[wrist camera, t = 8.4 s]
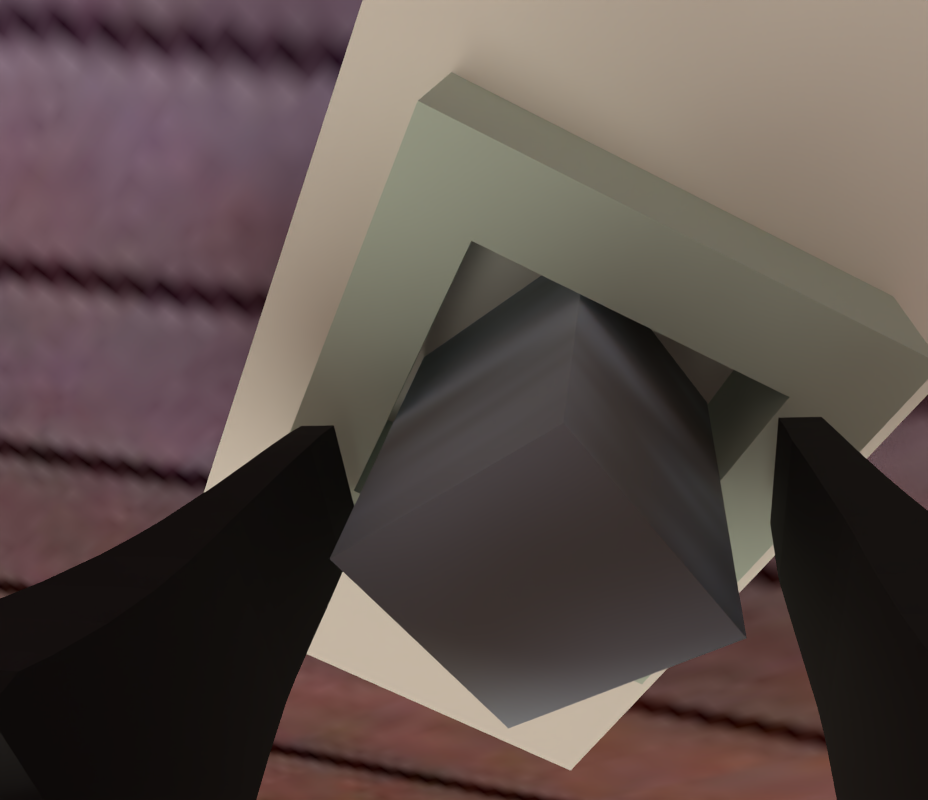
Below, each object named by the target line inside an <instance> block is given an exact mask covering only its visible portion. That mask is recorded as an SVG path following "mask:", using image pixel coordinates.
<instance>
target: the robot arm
mask: <svg viewBox="0 0 928 800" xmlns="http://www.w3.org/2000/svg"><path fill="white" fill-rule="evenodd" d="M353 508H354V503H353V499H352V495H351V491H350V487H349V483H348V479H347V475H346V471H345V467H344V463H343V459H342V455H341V451H340V447H339V444H338V440H337V436H336V432H335V428H334V425H327V426H300V427H299V428H297V429H295V430H293V431H292V432H290V433H288V434H287V435H285V436H284V437H282V438H281V439H279V440H278V441H277V442H275V443H274V444H272V445H271V446H269V447H268V448H267V449H265V450H264V451H262V452H261V453H260V454H258V455H257V456H255V457H254V458H253V459H251V460H250V461H249V462H247V463H246V464H244V465H243V466H242V467H240V468H239V469H237V470H236V471H235V472H233V473H232V474H230V475H229V476H228V477H226V478H225V479H223V480H222V481H220V482H219V483H218V484H216V485H215V486H213V487H212V488H210V489H209V490H207V491H206V492H204V493H203V494H201V495H200V496H198V497H197V498H195V499H194V500H192V501H191V502H189V503H188V504H186V505H185V506H183V507H182V508H180V509H179V510H177V511H176V512H174V513H172V514H171V515H169V516H168V517H166V518H165V519H163V520H162V521H160V522H158V523H157V524H155V525H153V526H152V527H150V528H148V529H146V530H145V531H143V532H141V533H140V534H138V535H136V536H134V537H132V538H130V539H129V540H127V541H125V542H123V543H121V544H119V545H118V546H116V547H114V548H112V549H110V550H108V551H106V552H104V553H102V554H101V555H99V556H96V557H94V558H92V559H90V560H88V561H86V562H84V563H81V564H79V565H77V566H75V567H73V568H71V569H69V570H66V571H64V572H62V573H60V574H58V575H56V576H53V577H51V578H49V579H47V580H45V581H43V582H40V583H38V584H36V585H33V586H31V587H28V588H26V589H23V590H21V591H18V592H16V593H13V594H11V595H8V596H6V597H3V598H0V800H256V798H257V795H258V792H259V788H260V785H261V781H262V778H263V774H264V771H265V768H266V764H267V761H268V757H269V754H270V751H271V748H272V745H273V741H274V738H275V735H276V732H277V729H278V726H279V723H280V720H281V717H282V713H283V710H284V707H285V704H286V701H287V699H288V696H289V694H290V691H291V689H292V686H293V683H294V681H295V678H296V676H297V674H298V671H299V669H300V667H301V665H302V663H303V660H304V658H305V656H306V654H307V651H308V649H309V647H310V645H311V642H312V640H313V638H314V636H315V634H316V631H317V629H318V627H319V625H320V622H321V620H322V618H323V616H324V613H325V611H326V609H327V607H328V604H329V602H330V600H331V598H332V595H333V593H334V591H335V588H336V586H337V584H338V582H339V579H340V577H341V574H342V572H343V571H342V570H341V569H340V568H339V567H338V566H337V565H335V564H334V563H333V562H332V561H331V560H330V557H331V555H332V553H333V550H334V548H335V546H336V544H337V542H338V540H339V538H340V535H341V533H342V531H343V529H344V527H345V525H346V523H347V521H348V518H349V516H350V514H351V512H352V510H353ZM770 526H771V532H772V539H773V546H774V552H775V558H776V564H777V570H778V576H779V581H780V584H781V588H782V591H783V595H784V598H785V602H786V605H787V608H788V612H789V615H790V618H791V622H792V625H793V628H794V632H795V635H796V638H797V641H798V645H799V648H800V651H801V654H802V658H803V661H804V664H805V668H806V671H807V674H808V677H809V681H810V684H811V687H812V691H813V694H814V697H815V700H816V704H817V707H818V711H819V715H820V719H821V723H822V727H823V731H824V735H825V739H826V745H827V750H828V755H829V760H830V766H831V771H832V776H833V781H834V787H835V792H836V797H837V800H928V511H927V510H926V509H925V508H924V507H922V506H921V505H920V504H919V503H917V502H916V501H915V500H914V499H912V498H911V497H910V496H909V495H907V494H906V493H905V492H904V491H903V490H901V489H900V488H899V487H898V486H897V485H896V484H894V483H893V482H892V481H891V480H890V479H889V478H887V477H886V476H885V475H884V474H883V473H882V472H880V471H879V470H878V469H877V468H876V467H875V466H874V465H873V464H872V463H871V462H869V461H868V460H867V459H866V458H865V457H864V456H863V455H862V454H861V453H860V452H859V451H858V450H857V449H855V448H854V447H853V446H852V445H851V444H850V443H849V442H848V441H847V440H846V439H845V438H844V437H843V436H842V435H841V434H840V433H838V432H837V431H836V430H835V429H834V428H833V427H832V426H831V425H830V424H829V423H828V422H827V421H826V420H825V419H823V418H822V417H784V418H778V430H777V443H776V455H775V468H774V481H773V493H772V506H771V518H770Z"/></svg>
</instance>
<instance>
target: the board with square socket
mask: <svg viewBox="0 0 928 800" xmlns="http://www.w3.org/2000/svg"><path fill="white" fill-rule="evenodd" d="M541 275H542V276H544V277H546V278H548V279H550V280H552V281H554V282H556V283H558V284H560V285H563V286H565V287H567V288H569V289H571V290H573V291H575V292H577V293H579V294H581V295H583V296H585V297H587V298H589V299H591V300H593V301H595V302H597V303H599V304H601V305H603V306H605V307H607V308H609V309H611V310H613V311H615V312H617V313H619V314H622V315H624V316H626V317H628V318H630V319H632V320H634V321H636V322H638V323H640V324H642V325H644V326H646V327H648V328H650V329H651V330H652V331H653V332H654V334H655V335H656V336H657V338H658V339H659V340H660V342H661V343H662V344H663V346H664V347H665V348H666V350H667V351H668V352H669V353H670V355H671V356H672V357H673V359H674V360H675V361H676V363H677V364H678V365H679V367H680V368H681V369H682V370H683V372H684V373H685V374H686V376H687V377H688V378H689V380H690V381H691V382H692V384H693V385H694V386H695V387H696V389H697V390H698V391H699V393H700V394H701V395H702V397H703V398H704V399H705V401H706V402H707V405H708V411H709V417H710V423H711V429H712V435H713V441H714V447H715V453H716V459H717V465H718V471H719V477H720V483H721V489H722V495H723V501H724V507H725V513H726V519H727V525H728V531H729V537H730V543H731V549H732V555H733V561H734V567H735V573H736V579H737V585H738V591H739V592H740V591H741V590H742V589H743V588H744V587H745V586H746V585H747V584H748V583H749V582H750V581H751V580H752V579H753V578H754V577H755V576H756V575H757V574H758V572H759V571H760V570H761V569H762V568H763V567H764V566H765V565H766V564H767V563H768V562H769V561H770V560H771V559H772V558H773V557H774V556H775V552H774V546H773V539H772V532H771V526H770V518H771V506H772V493H773V481H774V468H775V455H776V443H777V430H778V418H784V417H822V418H823V419H825V420H826V421H827V422H828V423H829V424H830V425H831V426H832V427H833V428H834V429H835V430H836V431H837V432H838V433H840V434H841V435H842V436H843V437H844V438H845V439H846V440H847V441H848V442H849V443H850V444H851V445H852V446H853V447H854V448H855V449H857V450H858V451H859V452H860V453H861V454H862V455H863V456H864V457H865V458H866V459H867V458H868V457H869V456H870V455H871V454H872V453H873V451H874V450H875V449H876V448H877V447H878V446H879V445H880V444H881V443H882V442H883V441H884V440H885V439H886V438H887V437H888V436H889V435H890V434H891V433H892V431H893V430H894V429H895V428H896V427H897V426H898V425H899V424H900V423H901V422H902V421H903V420H904V419H905V418H906V417H907V416H908V415H909V414H910V413H911V411H912V410H913V409H914V408H915V407H916V406H917V405H918V404H919V403H920V402H921V401H922V400H923V399H924V398H925V397H926V396H927V395H928V0H363V1H362V4H361V7H360V10H359V13H358V16H357V19H356V23H355V26H354V29H353V32H352V35H351V38H350V41H349V44H348V47H347V50H346V54H345V57H344V60H343V63H342V66H341V69H340V72H339V75H338V78H337V81H336V85H335V88H334V91H333V94H332V97H331V100H330V103H329V106H328V109H327V112H326V116H325V119H324V122H323V125H322V128H321V131H320V134H319V137H318V140H317V143H316V147H315V150H314V153H313V156H312V159H311V162H310V165H309V168H308V171H307V174H306V178H305V181H304V184H303V187H302V190H301V193H300V196H299V199H298V202H297V205H296V209H295V212H294V215H293V218H292V221H291V224H290V227H289V230H288V233H287V236H286V240H285V243H284V246H283V249H282V252H281V255H280V258H279V261H278V264H277V267H276V271H275V274H274V277H273V280H272V283H271V286H270V289H269V292H268V295H267V298H266V302H265V305H264V308H263V311H262V314H261V317H260V320H259V323H258V326H257V329H256V333H255V336H254V339H253V342H252V345H251V348H250V351H249V354H248V357H247V360H246V364H245V367H244V370H243V373H242V376H241V379H240V382H239V385H238V388H237V391H236V395H235V398H234V401H233V404H232V407H231V410H230V413H229V416H228V419H227V422H226V426H225V429H224V432H223V435H222V438H221V441H220V444H219V447H218V450H217V453H216V457H215V460H214V463H213V466H212V469H211V472H210V475H209V478H208V481H207V484H206V488H205V491H204V492H206V491H207V490H209V489H210V488H212V487H213V486H215V485H216V484H218V483H219V482H220V481H222V480H223V479H225V478H226V477H228V476H229V475H230V474H232V473H233V472H235V471H236V470H237V469H239V468H240V467H242V466H243V465H244V464H246V463H247V462H249V461H250V460H251V459H253V458H254V457H255V456H257V455H258V454H260V453H261V452H262V451H264V450H265V449H267V448H268V447H269V446H271V445H272V444H274V443H275V442H277V441H278V440H279V439H281V438H282V437H284V436H285V435H287V434H288V433H290V432H292V431H293V430H295V429H297V428H299V427H300V426H327V425H334V428H335V432H336V436H337V440H338V444H339V447H340V451H341V455H342V459H343V463H344V467H345V471H346V475H347V479H348V483H349V487H350V491H351V495H352V499H353V503H354V506H355V503H356V501H357V499H358V497H359V495H360V493H361V491H362V488H363V486H364V484H365V482H366V480H367V478H368V476H369V473H370V471H371V469H372V467H373V465H374V463H375V461H376V459H377V456H378V454H379V452H380V450H381V448H382V446H383V444H384V441H385V439H386V437H387V435H388V433H389V431H390V429H391V426H392V424H393V422H394V420H395V418H396V416H397V414H398V412H399V409H400V407H401V405H402V403H403V401H404V399H405V397H406V394H407V392H408V390H409V388H410V386H411V384H412V382H413V379H414V377H415V375H416V373H417V371H418V369H419V367H420V365H421V362H422V360H423V358H424V357H425V356H426V355H428V354H429V353H431V352H432V351H434V350H435V349H437V348H438V347H439V346H441V345H442V344H444V343H445V342H447V341H448V340H449V339H451V338H452V337H454V336H455V335H457V334H458V333H460V332H461V331H462V330H464V329H465V328H467V327H468V326H470V325H471V324H472V323H474V322H475V321H477V320H478V319H480V318H481V317H483V316H484V315H485V314H487V313H488V312H490V311H491V310H493V309H494V308H495V307H497V306H498V305H500V304H501V303H503V302H504V301H506V300H507V299H508V298H510V297H511V296H513V295H514V294H516V293H517V292H518V291H520V290H521V289H523V288H524V287H526V286H527V285H529V284H530V283H531V282H533V281H534V280H536V279H537V278H539V277H540V276H541ZM307 654H308V655H310V656H313V657H315V658H317V659H319V660H322V661H324V662H326V663H329V664H331V665H333V666H335V667H338V668H340V669H342V670H344V671H347V672H349V673H351V674H353V675H356V676H358V677H360V678H362V679H365V680H367V681H369V682H372V683H374V684H376V685H378V686H381V687H383V688H385V689H387V690H390V691H392V692H394V693H396V694H399V695H401V696H403V697H406V698H408V699H410V700H412V701H415V702H417V703H419V704H421V705H424V706H426V707H428V708H430V709H433V710H435V711H437V712H439V713H442V714H444V715H446V716H449V717H451V718H453V719H455V720H458V721H460V722H462V723H464V724H467V725H469V726H471V727H473V728H476V729H478V730H480V731H483V732H485V733H487V734H489V735H492V736H494V737H496V738H498V739H501V740H503V741H505V742H507V743H510V744H512V745H514V746H516V747H519V748H521V749H523V750H526V751H528V752H530V753H532V754H535V755H537V756H539V757H541V758H544V759H546V760H548V761H550V762H553V763H555V764H557V765H559V766H562V767H564V768H566V769H569V770H571V769H572V768H573V767H574V766H575V765H576V764H577V763H578V762H579V761H580V760H581V759H582V758H583V757H584V756H585V755H586V754H587V752H588V751H589V750H590V749H591V748H592V747H593V746H594V745H595V744H596V743H597V742H598V741H599V740H600V739H601V738H602V737H603V736H604V735H605V734H606V732H607V731H608V730H609V729H610V728H611V727H612V726H613V725H614V724H615V723H616V722H617V721H618V720H619V719H620V718H621V717H622V716H623V715H624V714H625V712H626V711H627V710H628V709H629V708H630V707H631V706H632V705H633V704H634V703H635V702H636V701H637V700H638V699H639V698H640V697H641V696H642V695H643V694H644V692H645V691H646V690H647V689H648V688H649V687H650V686H651V685H652V684H653V683H654V682H655V681H656V680H657V679H658V678H659V677H660V676H661V675H662V674H663V672H664V671H665V670H666V669H667V668H666V669H664V670H661V671H659V672H656V673H653V674H651V675H648V676H645V677H643V678H640V679H637V680H635V681H632V682H630V683H627V684H624V685H622V686H619V687H616V688H614V689H611V690H609V691H606V692H603V693H601V694H598V695H595V696H593V697H590V698H587V699H585V700H582V701H580V702H577V703H574V704H572V705H569V706H566V707H564V708H561V709H559V710H556V711H553V712H551V713H548V714H545V715H543V716H540V717H537V718H535V719H532V720H530V721H527V722H524V723H522V724H519V725H516V726H514V727H511V728H509V729H508V728H507V727H506V726H505V725H504V724H503V723H502V722H501V721H500V720H499V719H498V718H497V717H496V716H495V715H494V714H493V713H492V712H491V711H489V710H488V709H487V708H486V707H485V706H484V705H483V704H482V703H481V702H480V701H479V700H478V699H477V698H476V697H475V696H474V695H473V694H472V693H470V692H469V691H468V690H467V689H466V688H465V687H464V686H463V685H462V684H461V683H460V682H459V681H458V680H457V679H456V678H455V677H454V676H453V675H451V674H450V673H449V672H448V671H447V670H446V669H445V668H444V667H443V666H442V665H441V664H440V663H439V662H438V661H437V660H436V659H435V658H434V657H433V656H431V655H430V654H429V653H428V652H427V651H426V650H425V649H424V648H423V647H422V646H421V645H420V644H419V643H418V642H417V641H416V640H415V639H414V638H412V637H411V636H410V635H409V634H408V633H407V632H406V631H405V630H404V629H403V628H402V627H401V626H400V625H399V624H398V623H397V622H396V621H395V620H393V619H392V618H391V617H390V616H389V615H388V614H387V613H386V612H385V611H384V610H383V609H382V608H381V607H380V606H379V605H378V604H377V603H376V602H374V601H373V600H372V599H371V598H370V597H369V596H368V595H367V594H366V593H365V592H364V591H363V590H362V589H361V588H360V587H359V586H358V585H357V584H356V583H354V582H353V581H352V580H351V579H350V578H349V577H348V576H347V575H346V574H345V573H344V572H342V574H341V577H340V579H339V582H338V584H337V586H336V588H335V591H334V593H333V595H332V598H331V600H330V602H329V604H328V607H327V609H326V611H325V613H324V616H323V618H322V620H321V622H320V625H319V627H318V629H317V631H316V634H315V636H314V638H313V640H312V642H311V645H310V647H309V649H308V651H307Z"/></svg>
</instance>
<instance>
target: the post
mask: <svg viewBox="0 0 928 800" xmlns="http://www.w3.org/2000/svg"><path fill="white" fill-rule="evenodd" d="M330 560H331V561H332V562H333V563H334V564H335V565H337V566H338V567H339V568H340V569H341V570H342V571H343V572H344V573H345V574H346V575H347V576H348V577H349V578H350V579H351V580H352V581H353V582H354V583H356V584H357V585H358V586H359V587H360V588H361V589H362V590H363V591H364V592H365V593H366V594H367V595H368V596H369V597H370V598H371V599H372V600H373V601H374V602H376V603H377V604H378V605H379V606H380V607H381V608H382V609H383V610H384V611H385V612H386V613H387V614H388V615H389V616H390V617H391V618H392V619H393V620H395V621H396V622H397V623H398V624H399V625H400V626H401V627H402V628H403V629H404V630H405V631H406V632H407V633H408V634H409V635H410V636H411V637H412V638H414V639H415V640H416V641H417V642H418V643H419V644H420V645H421V646H422V647H423V648H424V649H425V650H426V651H427V652H428V653H429V654H430V655H431V656H433V657H434V658H435V659H436V660H437V661H438V662H439V663H440V664H441V665H442V666H443V667H444V668H445V669H446V670H447V671H448V672H449V673H450V674H451V675H453V676H454V677H455V678H456V679H457V680H458V681H459V682H460V683H461V684H462V685H463V686H464V687H465V688H466V689H467V690H468V691H469V692H470V693H472V694H473V695H474V696H475V697H476V698H477V699H478V700H479V701H480V702H481V703H482V704H483V705H484V706H485V707H486V708H487V709H488V710H489V711H491V712H492V713H493V714H494V715H495V716H496V717H497V718H498V719H499V720H500V721H501V722H502V723H503V724H504V725H505V726H506V727H507V728H508V729H509V728H511V727H514V726H516V725H519V724H522V723H524V722H527V721H530V720H532V719H535V718H537V717H540V716H543V715H545V714H548V713H551V712H553V711H556V710H559V709H561V708H564V707H566V706H569V705H572V704H574V703H577V702H580V701H582V700H585V699H587V698H590V697H593V696H595V695H598V694H601V693H603V692H606V691H609V690H611V689H614V688H616V687H619V686H622V685H624V684H627V683H630V682H632V681H635V680H637V679H640V678H643V677H645V676H648V675H651V674H653V673H656V672H659V671H661V670H664V669H666V668H669V667H672V666H674V665H677V664H680V663H682V662H685V661H687V660H690V659H693V658H695V657H698V656H701V655H703V654H706V653H709V652H711V651H714V650H716V649H719V648H722V647H724V646H727V645H730V644H732V643H735V642H738V641H740V640H743V639H745V638H746V633H745V627H744V621H743V615H742V609H741V603H740V597H739V591H738V585H737V579H736V573H735V567H734V561H733V555H732V549H731V543H730V537H729V531H728V525H727V519H726V513H725V507H724V501H723V495H722V489H721V483H720V477H719V471H718V465H717V459H716V453H715V447H714V441H713V435H712V429H711V423H710V417H709V411H708V405H707V402H706V401H705V399H704V398H703V397H702V395H701V394H700V393H699V391H698V390H697V389H696V387H695V386H694V385H693V384H692V382H691V381H690V380H689V378H688V377H687V376H686V374H685V373H684V372H683V370H682V369H681V368H680V367H679V365H678V364H677V363H676V361H675V360H674V359H673V357H672V356H671V355H670V353H669V352H668V351H667V350H666V348H665V347H664V346H663V344H662V343H661V342H660V340H659V339H658V338H657V336H656V335H655V334H654V332H653V331H652V330H651V329H650V328H648V327H646V326H644V325H642V324H640V323H638V322H636V321H634V320H632V319H630V318H628V317H626V316H624V315H622V314H619V313H617V312H615V311H613V310H611V309H609V308H607V307H605V306H603V305H601V304H599V303H597V302H595V301H593V300H591V299H589V298H587V297H585V296H583V295H581V294H579V293H577V292H575V291H573V290H571V289H569V288H567V287H565V286H563V285H560V284H558V283H556V282H554V281H552V280H550V279H548V278H546V277H544V276H542V275H541V276H540V277H539V278H537V279H536V280H534V281H533V282H531V283H530V284H529V285H527V286H526V287H524V288H523V289H521V290H520V291H518V292H517V293H516V294H514V295H513V296H511V297H510V298H508V299H507V300H506V301H504V302H503V303H501V304H500V305H498V306H497V307H495V308H494V309H493V310H491V311H490V312H488V313H487V314H485V315H484V316H483V317H481V318H480V319H478V320H477V321H475V322H474V323H472V324H471V325H470V326H468V327H467V328H465V329H464V330H462V331H461V332H460V333H458V334H457V335H455V336H454V337H452V338H451V339H449V340H448V341H447V342H445V343H444V344H442V345H441V346H439V347H438V348H437V349H435V350H434V351H432V352H431V353H429V354H428V355H426V356H425V357H424V358H423V360H422V362H421V365H420V367H419V369H418V371H417V373H416V375H415V377H414V379H413V382H412V384H411V386H410V388H409V390H408V392H407V394H406V397H405V399H404V401H403V403H402V405H401V407H400V409H399V412H398V414H397V416H396V418H395V420H394V422H393V424H392V426H391V429H390V431H389V433H388V435H387V437H386V439H385V441H384V444H383V446H382V448H381V450H380V452H379V454H378V456H377V459H376V461H375V463H374V465H373V467H372V469H371V471H370V473H369V476H368V478H367V480H366V482H365V484H364V486H363V488H362V491H361V493H360V495H359V497H358V499H357V501H356V503H355V506H354V508H353V510H352V512H351V514H350V516H349V518H348V521H347V523H346V525H345V527H344V529H343V531H342V533H341V535H340V538H339V540H338V542H337V544H336V546H335V548H334V550H333V553H332V555H331V557H330Z"/></svg>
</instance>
